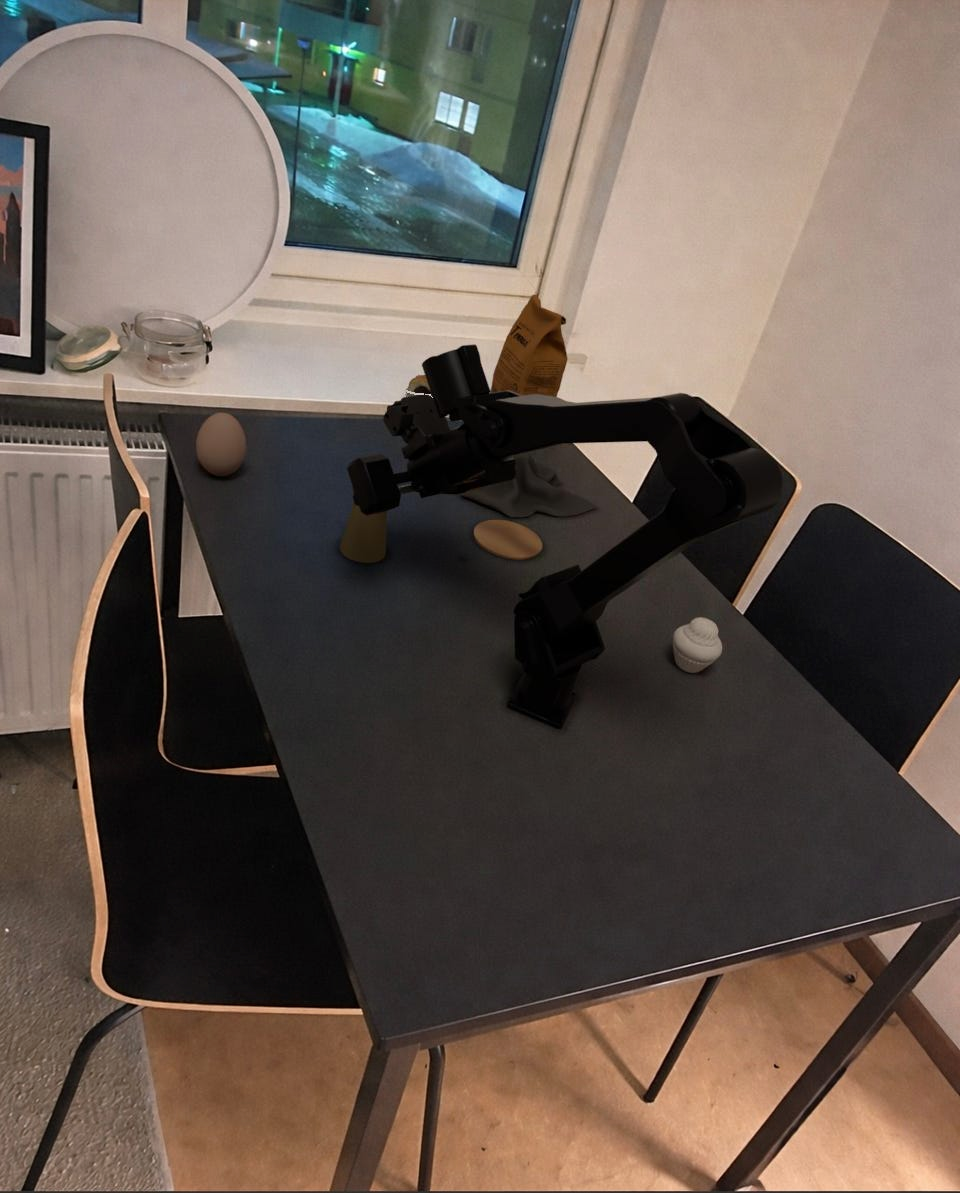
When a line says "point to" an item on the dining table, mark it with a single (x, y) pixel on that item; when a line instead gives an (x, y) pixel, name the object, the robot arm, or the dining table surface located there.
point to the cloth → (530, 492)
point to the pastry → (418, 385)
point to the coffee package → (532, 353)
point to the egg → (221, 444)
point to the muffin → (696, 645)
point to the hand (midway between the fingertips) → (385, 494)
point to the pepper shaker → (364, 536)
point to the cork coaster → (507, 539)
